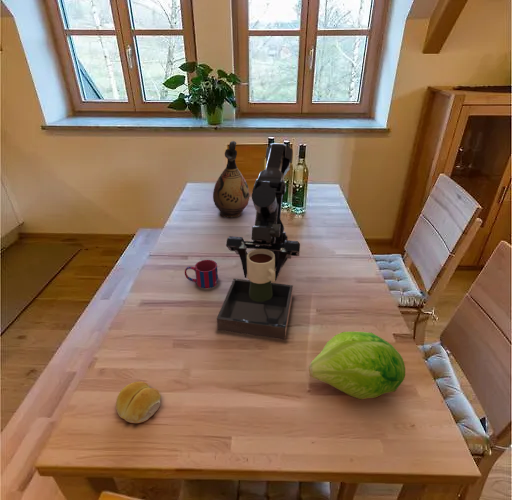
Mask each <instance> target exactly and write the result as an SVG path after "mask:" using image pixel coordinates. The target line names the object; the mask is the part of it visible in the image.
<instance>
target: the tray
mask: <svg viewBox="0 0 512 500" xmlns="http://www.w3.org/2000/svg"><path fill="white" fill-rule="evenodd" d="M250 282H251V281H250V280H249V279H241V278H232V282H231V284H230V287H229V289H228V291H227V293H226V296H225V298H224V300H223V303H222V305H221V308H220V311H219V312H218V315H217V317H216V325H217V326H216V327H217V331H220V332H228V333H236V334H242V335H248V336H249V335H250V336H255V337H263V338H270V339H277V340H286V336H287V331H288V323H289V319H290V312H291V306H292V301H293V293H294V285H293V284H287V283H286V284H285V283H276V282H271V285H272V294H273V295H272V298H271V299H269V300H267V301H263V302H257V301H253V300H252V299H251V298H250V296H249V288H250Z"/></svg>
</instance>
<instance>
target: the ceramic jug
mask: <svg viewBox="0 0 512 500" xmlns="http://www.w3.org/2000/svg"><path fill="white" fill-rule="evenodd" d="M236 147H237V141H235V140H232V141H230V142H229V144H228V148H226V149H225V150H224V157H225V158H226V159H227V163H226V167H225V168H224V169H223V171H222V172H221V173H220V175H219V177H218V178H217V180H216V182H215V184H214V187H213V192H212V200H213V203H214V205H215V207H216V208H217V210H218V211H219V213H220V216H222V217H224V218H228V219H231V218H238V217H239V216H241V215H242V212H243V211H244V210H245V209H246V208H247V206H248V205H249V201H250V198H251V197H250V196H251V195H250V189H249V184H248V183H247V180H246V178H245V177H244V175H243V174H242V172H241V171H240V170H239V168H238V166H237V163H236V159H237V156H238V151H237V150H236Z"/></svg>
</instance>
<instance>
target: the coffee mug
mask: <svg viewBox="0 0 512 500" xmlns="http://www.w3.org/2000/svg"><path fill="white" fill-rule="evenodd" d="M247 253H248V254H247V280H250V281H251V282H250V288H249V296H250V298H251V299H252V300H253V301H257V302H263V301H267V300H269V299H271V298H272V295H273V294H272V285H271V283H275V282H276V281H275V271H276V267H275V254H274V253H273V252H272V251H270V250H267V249H251V250H250V251H249V252H247Z"/></svg>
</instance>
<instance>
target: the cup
mask: <svg viewBox="0 0 512 500" xmlns="http://www.w3.org/2000/svg"><path fill="white" fill-rule="evenodd" d="M188 270H193V271H194V272H195V273H194V274H195V278H193V277H190V276H189V275H188V273H187V271H188ZM218 271H219V269H218V263H217V262H216V261H214V260H212V259H202V260H199V261H198V262H196V263H195V264H194V266H186V267H185V269H184V276H185V279H187V280H188V281H190V282H193V283H196V285H197V286H198V287H199V288H202V289H212V288H215V287H216V286H217V285H218V284H219V273H218Z"/></svg>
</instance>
